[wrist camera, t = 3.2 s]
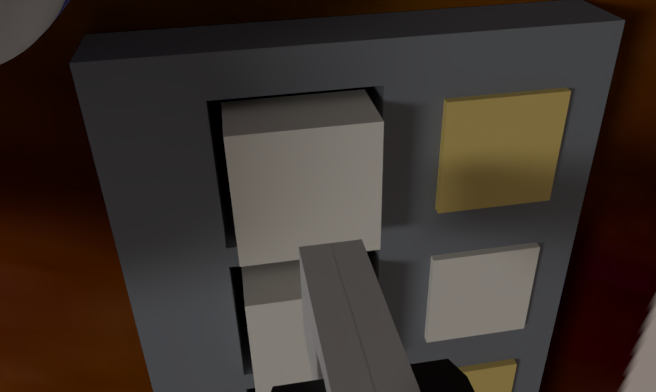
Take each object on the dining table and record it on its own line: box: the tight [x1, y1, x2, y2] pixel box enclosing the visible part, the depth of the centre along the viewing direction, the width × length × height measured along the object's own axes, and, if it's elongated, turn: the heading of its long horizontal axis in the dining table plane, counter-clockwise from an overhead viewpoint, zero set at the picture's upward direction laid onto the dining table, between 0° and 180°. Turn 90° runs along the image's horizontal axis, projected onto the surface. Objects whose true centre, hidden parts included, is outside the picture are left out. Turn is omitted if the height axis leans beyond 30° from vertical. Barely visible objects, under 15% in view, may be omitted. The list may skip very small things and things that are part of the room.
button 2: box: [241, 260, 313, 392], centre depth 22 cm, size 4×4×2 cm
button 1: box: [221, 89, 384, 267], centre depth 19 cm, size 4×4×2 cm
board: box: [69, 0, 625, 392], centre depth 25 cm, size 26×16×3 cm, turn 1°
